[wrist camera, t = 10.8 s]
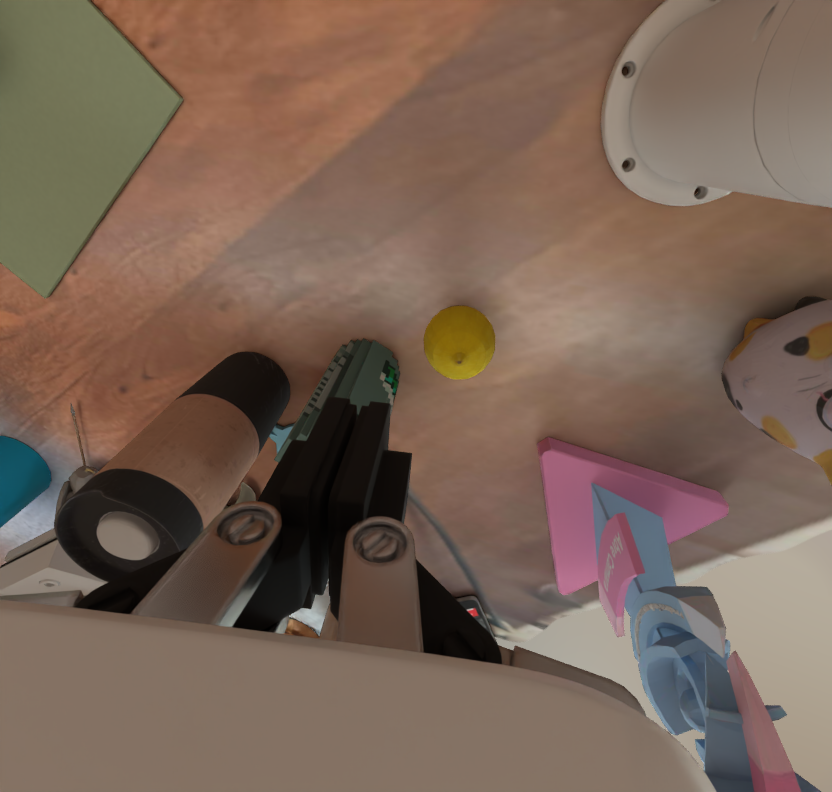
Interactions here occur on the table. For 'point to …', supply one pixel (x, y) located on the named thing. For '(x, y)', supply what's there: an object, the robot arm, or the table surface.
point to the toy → (75, 475)
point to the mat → (68, 129)
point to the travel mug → (175, 470)
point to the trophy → (662, 607)
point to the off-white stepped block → (43, 569)
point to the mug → (19, 477)
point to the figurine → (787, 379)
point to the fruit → (459, 342)
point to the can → (350, 384)
